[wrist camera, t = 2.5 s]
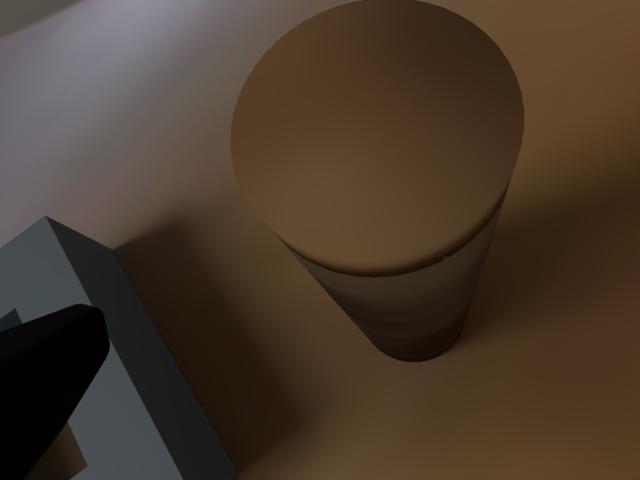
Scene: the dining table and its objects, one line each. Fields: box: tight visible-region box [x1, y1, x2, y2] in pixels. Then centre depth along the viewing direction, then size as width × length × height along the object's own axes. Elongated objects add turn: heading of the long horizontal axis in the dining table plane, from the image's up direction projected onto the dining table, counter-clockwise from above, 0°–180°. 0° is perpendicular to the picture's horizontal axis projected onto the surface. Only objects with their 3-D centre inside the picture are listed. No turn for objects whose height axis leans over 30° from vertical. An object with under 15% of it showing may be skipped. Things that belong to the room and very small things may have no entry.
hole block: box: [0, 216, 239, 480], centre depth 18 cm, size 10×10×4 cm
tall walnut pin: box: [231, 0, 524, 362], centre depth 13 cm, size 4×4×13 cm
